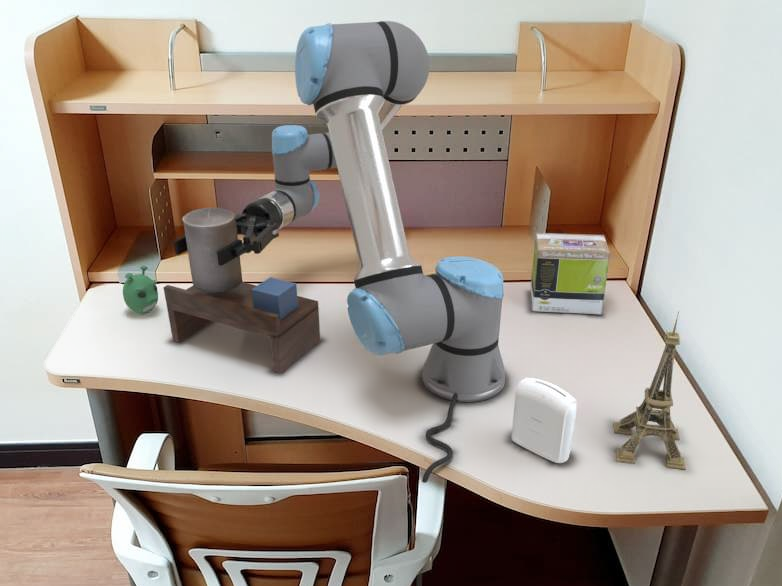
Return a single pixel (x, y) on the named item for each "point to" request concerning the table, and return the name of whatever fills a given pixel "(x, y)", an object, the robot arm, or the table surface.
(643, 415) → the eiffel tower
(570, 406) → the photo printer
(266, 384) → the table surface
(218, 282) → the pillar candle
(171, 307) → the shelf
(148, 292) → the alien toy
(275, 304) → the slate box
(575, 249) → the tea box
